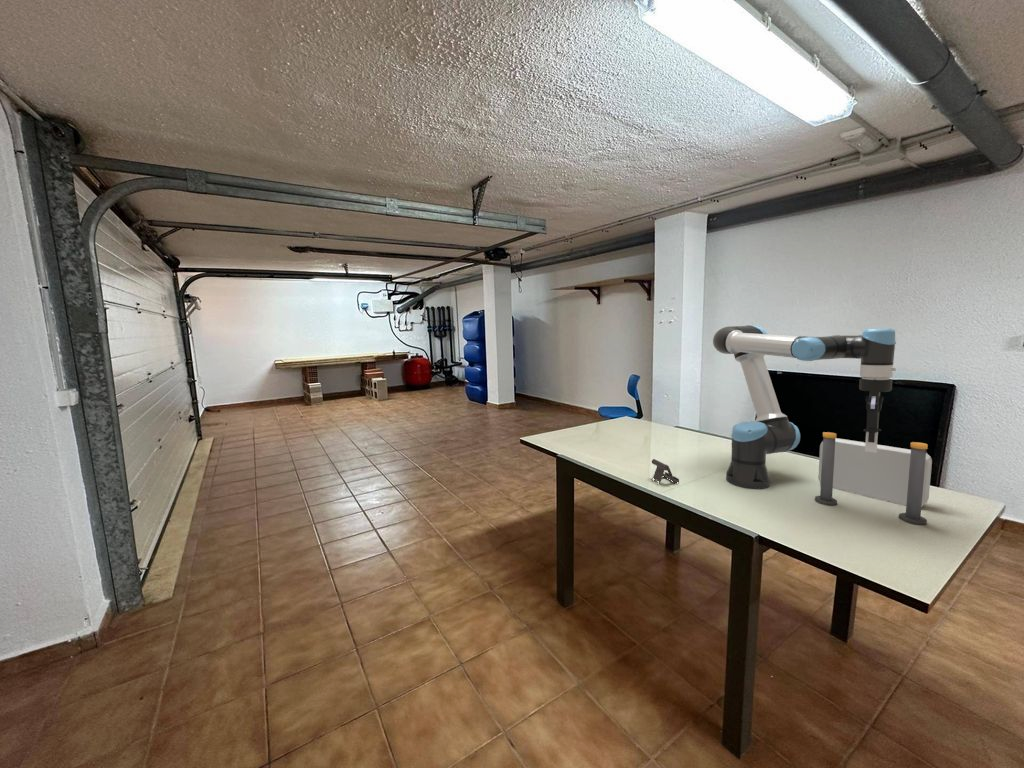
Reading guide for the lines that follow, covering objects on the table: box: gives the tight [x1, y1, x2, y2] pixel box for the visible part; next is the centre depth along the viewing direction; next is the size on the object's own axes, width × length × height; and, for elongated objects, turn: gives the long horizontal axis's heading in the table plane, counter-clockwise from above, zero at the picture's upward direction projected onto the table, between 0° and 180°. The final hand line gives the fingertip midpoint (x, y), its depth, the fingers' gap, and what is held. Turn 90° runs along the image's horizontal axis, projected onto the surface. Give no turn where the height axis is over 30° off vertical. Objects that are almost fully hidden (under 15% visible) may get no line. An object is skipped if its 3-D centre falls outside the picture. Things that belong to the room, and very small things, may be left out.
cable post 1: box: [814, 431, 838, 507], centre depth 134 cm, size 6×6×24 cm
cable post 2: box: [898, 441, 929, 526], centre depth 119 cm, size 6×6×24 cm
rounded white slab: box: [817, 437, 933, 507], centre depth 139 cm, size 29×8×18 cm, turn 33°
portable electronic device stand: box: [651, 458, 680, 484], centre depth 159 cm, size 9×8×8 cm
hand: (870, 451), depth 125 cm, fingers closed
